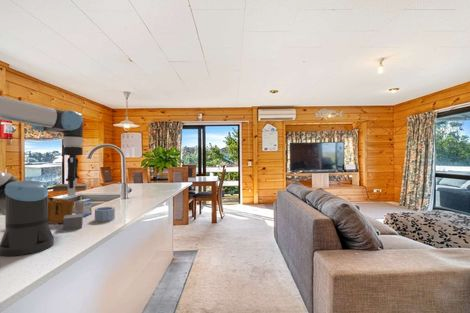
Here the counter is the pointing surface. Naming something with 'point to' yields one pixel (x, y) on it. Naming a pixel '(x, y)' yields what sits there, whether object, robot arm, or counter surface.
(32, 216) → the robot arm
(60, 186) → the walnut board
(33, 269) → the counter surface
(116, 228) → the counter surface
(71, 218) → the grey block
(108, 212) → the bowl
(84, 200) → the medicine box
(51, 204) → the coffee package
